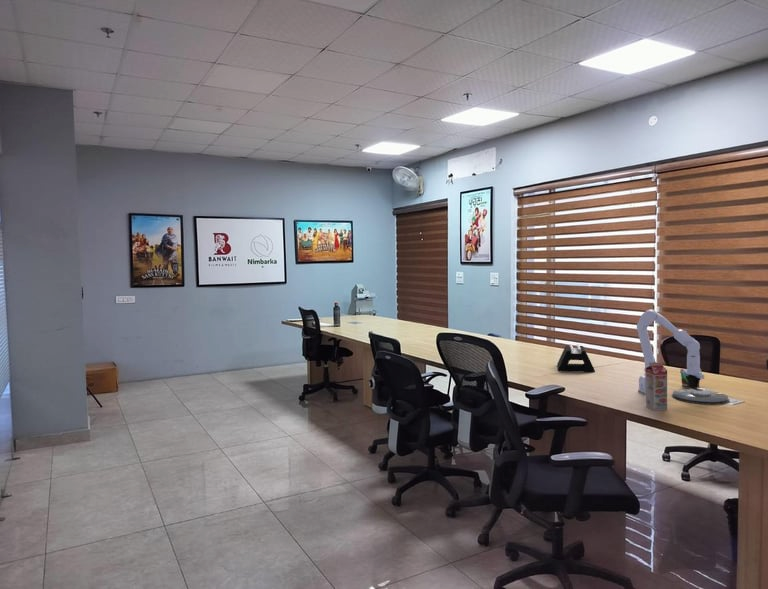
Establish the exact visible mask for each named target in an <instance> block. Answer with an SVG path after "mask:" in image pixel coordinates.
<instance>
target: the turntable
mask: <svg viewBox="0 0 768 589" xmlns="http://www.w3.org/2000/svg"><path fill="white" fill-rule="evenodd" d="M672 394H673V396H674V397H676V398H679V399H682V400H687V401H693V402H702V403H720V402H726V401H728V399H729V396H728V395H727V394H725V393H722V392H719V391H714V390H711V396H709V397H699V396H694V395H691V394H690V388H687V389H686V388H684V389H683V388H682V389H676V390H673V391H672Z"/></svg>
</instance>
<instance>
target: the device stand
mask: <svg viewBox="0 0 768 589" xmlns="http://www.w3.org/2000/svg"><path fill="white" fill-rule="evenodd" d="M570 361H582V362H583V363H570ZM557 371H558V372H570V371H584V372H583V373H595V372H596V370H595V367H594V365H593V363H592V361H591V359H590V358H589V355H588V354H587V351H586V349H585V347H584V346H583V345H580V344H579V343H577V344H576V347H573V344H572V343H569V345H565V346H564V349H563V351H562V353H561V355H560V357H559V359H558V361H557Z"/></svg>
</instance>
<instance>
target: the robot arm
mask: <svg viewBox="0 0 768 589" xmlns="http://www.w3.org/2000/svg"><path fill="white" fill-rule="evenodd" d="M653 322H654V323H655V324H659V325H661V326H663V327H664V328H665V329H667V330H668V331H669V332H670V333H672V334H673V338H674V339H675V340H676V341H677V342H678V343H680V344H681V345H682V346H683V347H686V350H687V354H686V369H685V370H683V373H684V374H688V376H686V378H687V380H688V382H689V385H690V388H689V389H691V388H698V387H697V385H698V383H699V384H700V382H701V380H705V375H704V374H703V372H700V369H701V366H700V365H701V355H700V350H701V345H700V342H699V341H698V340H696V339H695V338H694V337H692V336H691V335H689V333H688V331H687V330H683V329H679V328H677V327H676V326H674V325H673V323H671V322H670V321H669V320H668V319H667V318H666V317H665V316H663V315H662V314H661V313H659V312H657V311H656V310H654V309H652V308H651V309H647V310H645V311H644V312H643V313H642V314H641V315H640V317H639V319H638V322H637V324H636V330H637V334H638V339H639V342H640V346H641V351H642V355H643V358H644V374H643V375H640V376H639V378H638V390H637V391H638V392H641V393H643V394H645V395H646V368H647V367H649V363H655V362H657V361H656V358H655V355H654V352H653V349H652V344H651V338H650V335H649V331H648V327H649V326H650V325H651V324H652V323H653Z"/></svg>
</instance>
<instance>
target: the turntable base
mask: <svg viewBox="0 0 768 589" xmlns="http://www.w3.org/2000/svg"><path fill="white" fill-rule="evenodd" d="M671 397H672V398H673V399H675V400H677V401H680V402H683V403H684V402H685V403H688V404H690V403H691V404H696V405H708V406H709V405H725V404H728V403H729V402H730V398H728V401H726V402H720V403H702V402H693V401H687V400H682V399H679V398H676V397H674V396H673V393H671Z"/></svg>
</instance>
